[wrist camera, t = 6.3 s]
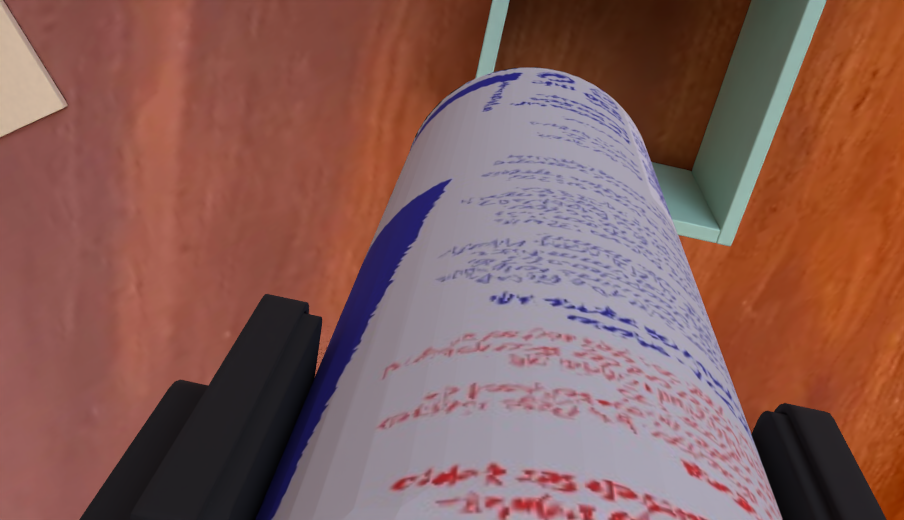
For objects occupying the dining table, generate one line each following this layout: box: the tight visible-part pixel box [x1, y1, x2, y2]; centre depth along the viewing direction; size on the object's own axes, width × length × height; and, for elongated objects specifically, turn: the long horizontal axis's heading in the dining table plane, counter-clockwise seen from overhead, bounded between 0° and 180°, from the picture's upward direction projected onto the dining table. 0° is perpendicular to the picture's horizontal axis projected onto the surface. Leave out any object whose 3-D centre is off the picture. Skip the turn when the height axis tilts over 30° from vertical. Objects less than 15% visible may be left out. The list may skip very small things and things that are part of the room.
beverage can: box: [255, 67, 783, 520], centre depth 13 cm, size 6×6×15 cm
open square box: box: [475, 0, 826, 246], centre depth 34 cm, size 11×11×7 cm
